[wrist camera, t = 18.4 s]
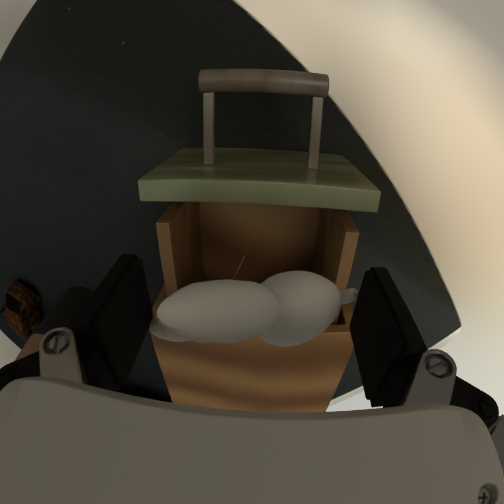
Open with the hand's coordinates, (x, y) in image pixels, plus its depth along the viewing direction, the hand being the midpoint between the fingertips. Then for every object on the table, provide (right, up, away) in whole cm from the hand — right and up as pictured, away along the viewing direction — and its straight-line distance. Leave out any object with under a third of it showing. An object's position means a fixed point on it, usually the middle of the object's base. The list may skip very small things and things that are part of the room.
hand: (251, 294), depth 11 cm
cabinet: (0, -5, +20) cm, 20 cm away
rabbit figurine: (0, +1, +2) cm, 2 cm away
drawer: (+1, +6, +13) cm, 14 cm away
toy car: (-33, -7, +23) cm, 41 cm away
